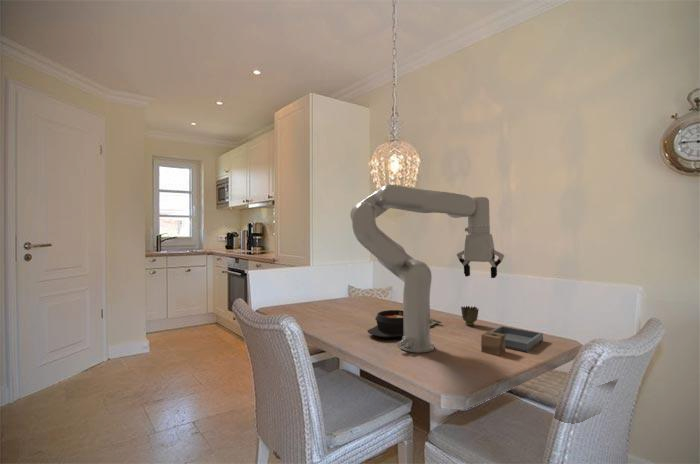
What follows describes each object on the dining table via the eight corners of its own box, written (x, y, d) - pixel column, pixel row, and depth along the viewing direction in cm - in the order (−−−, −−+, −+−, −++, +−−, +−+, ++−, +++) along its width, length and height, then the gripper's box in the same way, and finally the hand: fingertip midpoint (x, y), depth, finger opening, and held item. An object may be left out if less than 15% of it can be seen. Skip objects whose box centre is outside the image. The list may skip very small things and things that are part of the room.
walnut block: (498, 355, 124) (498, 338, 124) (481, 351, 128) (481, 334, 128) (505, 351, 128) (505, 334, 128) (488, 347, 132) (488, 331, 132)
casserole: (402, 324, 165) (402, 306, 165) (433, 334, 150) (433, 313, 150) (357, 334, 150) (357, 313, 150) (387, 345, 135) (387, 322, 135)
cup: (480, 327, 160) (480, 309, 160) (464, 327, 160) (464, 309, 160) (475, 323, 167) (475, 305, 167) (459, 323, 167) (459, 305, 167)
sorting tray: (527, 352, 127) (527, 343, 127) (482, 342, 138) (482, 334, 138) (542, 341, 140) (542, 333, 140) (500, 333, 151) (500, 325, 151)
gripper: (452, 231, 137) (453, 276, 137) (499, 230, 126) (500, 279, 126) (460, 230, 143) (461, 274, 143) (506, 230, 132) (507, 277, 132)
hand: (480, 276), depth 135 cm, fingers open, 9 cm apart
